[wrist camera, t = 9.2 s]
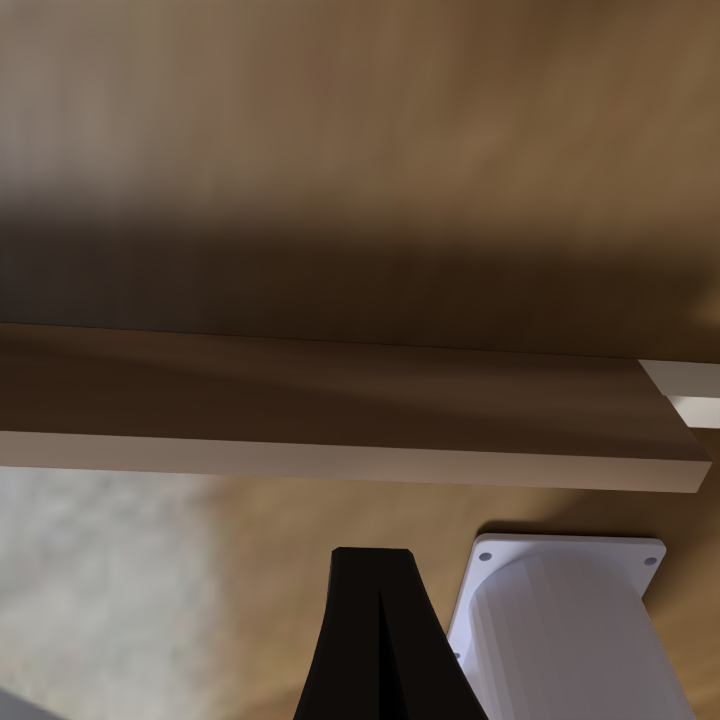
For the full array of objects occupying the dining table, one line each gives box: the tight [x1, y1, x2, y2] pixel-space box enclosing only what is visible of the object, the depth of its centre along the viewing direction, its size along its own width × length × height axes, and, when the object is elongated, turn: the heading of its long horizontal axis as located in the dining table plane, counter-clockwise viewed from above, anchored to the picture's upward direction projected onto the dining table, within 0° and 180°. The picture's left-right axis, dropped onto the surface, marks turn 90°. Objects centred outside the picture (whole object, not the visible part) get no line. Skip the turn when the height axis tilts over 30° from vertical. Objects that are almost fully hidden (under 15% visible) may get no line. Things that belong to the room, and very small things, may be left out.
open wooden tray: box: [0, 323, 713, 493], centre depth 15 cm, size 17×24×5 cm
